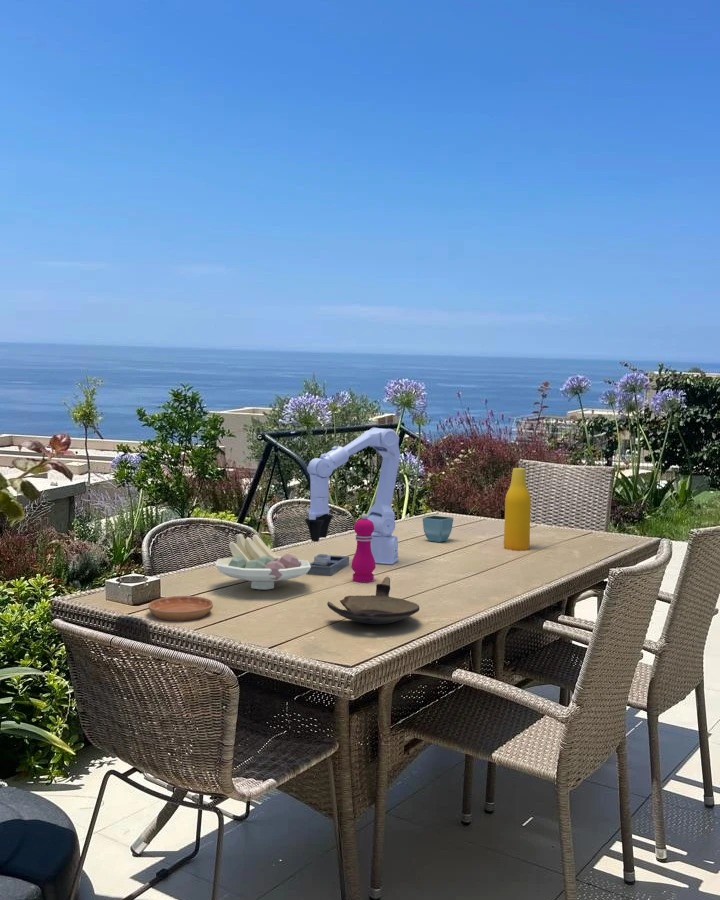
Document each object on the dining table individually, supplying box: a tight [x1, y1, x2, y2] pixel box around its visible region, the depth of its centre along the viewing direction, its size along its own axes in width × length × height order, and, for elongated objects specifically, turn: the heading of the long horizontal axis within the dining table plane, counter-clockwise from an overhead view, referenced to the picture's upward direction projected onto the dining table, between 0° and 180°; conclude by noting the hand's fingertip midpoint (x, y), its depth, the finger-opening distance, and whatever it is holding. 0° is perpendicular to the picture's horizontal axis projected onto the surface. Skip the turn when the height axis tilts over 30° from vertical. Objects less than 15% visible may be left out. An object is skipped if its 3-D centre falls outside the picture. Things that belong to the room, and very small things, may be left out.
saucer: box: [148, 595, 214, 621], centre depth 228 cm, size 16×16×3 cm
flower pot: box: [422, 515, 454, 543], centre depth 340 cm, size 9×9×9 cm
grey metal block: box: [313, 553, 331, 566], centre depth 282 cm, size 4×4×5 cm
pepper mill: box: [351, 513, 376, 583], centre depth 270 cm, size 7×7×20 cm
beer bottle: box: [503, 467, 532, 551], centre depth 327 cm, size 9×9×29 cm
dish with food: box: [215, 533, 311, 590], centre depth 258 cm, size 28×28×14 cm
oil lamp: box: [327, 576, 420, 625], centre depth 226 cm, size 22×30×8 cm
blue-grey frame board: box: [305, 554, 350, 577], centre depth 286 cm, size 8×19×2 cm, turn 163°
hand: (319, 539), depth 286 cm, fingers open, 7 cm apart
